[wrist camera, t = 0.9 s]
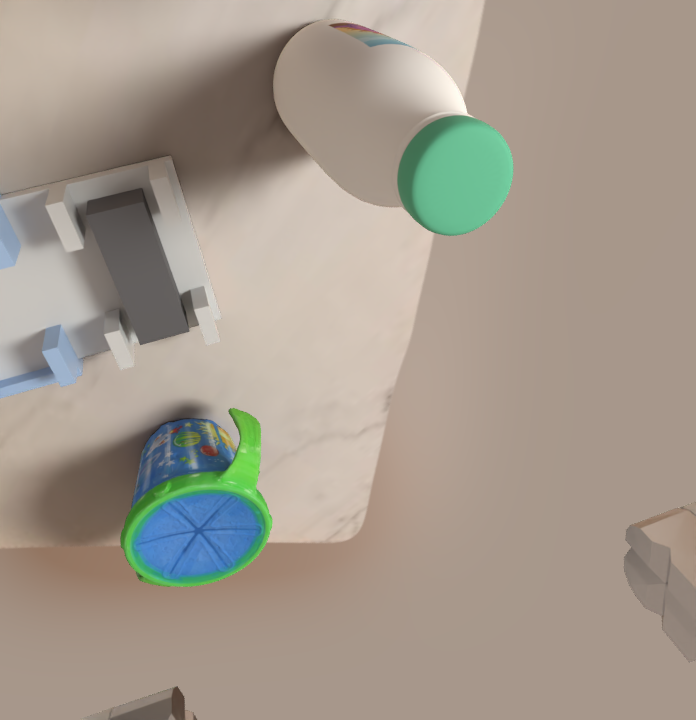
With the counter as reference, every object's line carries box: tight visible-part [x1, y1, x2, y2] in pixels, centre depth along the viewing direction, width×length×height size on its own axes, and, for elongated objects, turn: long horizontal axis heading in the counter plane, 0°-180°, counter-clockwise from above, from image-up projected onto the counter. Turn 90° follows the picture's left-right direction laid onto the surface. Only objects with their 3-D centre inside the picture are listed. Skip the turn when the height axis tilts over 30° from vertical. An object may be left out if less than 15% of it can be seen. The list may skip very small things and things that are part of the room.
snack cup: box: [121, 408, 272, 587], centre depth 49 cm, size 16×10×10 cm
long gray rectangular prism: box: [86, 188, 189, 345], centre depth 41 cm, size 10×3×3 cm, turn 8°
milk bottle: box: [273, 19, 513, 236], centre depth 32 cm, size 8×8×20 cm
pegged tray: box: [0, 155, 222, 398], centre depth 40 cm, size 14×18×4 cm
